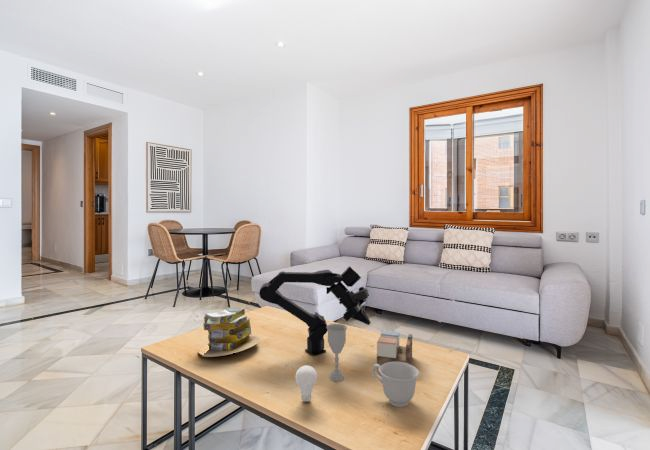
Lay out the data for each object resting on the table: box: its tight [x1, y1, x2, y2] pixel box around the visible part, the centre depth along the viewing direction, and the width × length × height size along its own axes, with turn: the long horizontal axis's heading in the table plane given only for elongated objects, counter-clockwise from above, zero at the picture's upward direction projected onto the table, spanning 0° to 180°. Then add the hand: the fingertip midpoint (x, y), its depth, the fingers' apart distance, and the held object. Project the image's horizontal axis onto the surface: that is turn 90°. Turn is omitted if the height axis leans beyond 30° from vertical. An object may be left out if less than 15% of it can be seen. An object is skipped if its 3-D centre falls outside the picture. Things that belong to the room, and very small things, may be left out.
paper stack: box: [201, 307, 260, 358], centre depth 143 cm, size 25×25×17 cm
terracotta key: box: [376, 336, 397, 358], centre depth 128 cm, size 7×4×6 cm, turn 72°
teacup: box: [371, 362, 420, 408], centre depth 105 cm, size 12×15×10 cm
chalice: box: [326, 323, 348, 382], centre depth 119 cm, size 7×7×18 cm
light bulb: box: [295, 364, 318, 403], centre depth 104 cm, size 7×7×11 cm
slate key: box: [379, 330, 400, 348], centre depth 136 cm, size 7×4×6 cm, turn 72°
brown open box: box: [376, 333, 413, 366], centre depth 131 cm, size 12×13×10 cm
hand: (369, 323), depth 138 cm, fingers closed
